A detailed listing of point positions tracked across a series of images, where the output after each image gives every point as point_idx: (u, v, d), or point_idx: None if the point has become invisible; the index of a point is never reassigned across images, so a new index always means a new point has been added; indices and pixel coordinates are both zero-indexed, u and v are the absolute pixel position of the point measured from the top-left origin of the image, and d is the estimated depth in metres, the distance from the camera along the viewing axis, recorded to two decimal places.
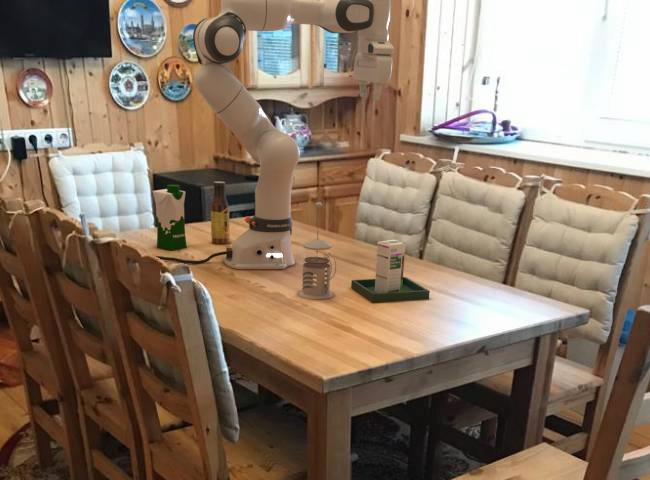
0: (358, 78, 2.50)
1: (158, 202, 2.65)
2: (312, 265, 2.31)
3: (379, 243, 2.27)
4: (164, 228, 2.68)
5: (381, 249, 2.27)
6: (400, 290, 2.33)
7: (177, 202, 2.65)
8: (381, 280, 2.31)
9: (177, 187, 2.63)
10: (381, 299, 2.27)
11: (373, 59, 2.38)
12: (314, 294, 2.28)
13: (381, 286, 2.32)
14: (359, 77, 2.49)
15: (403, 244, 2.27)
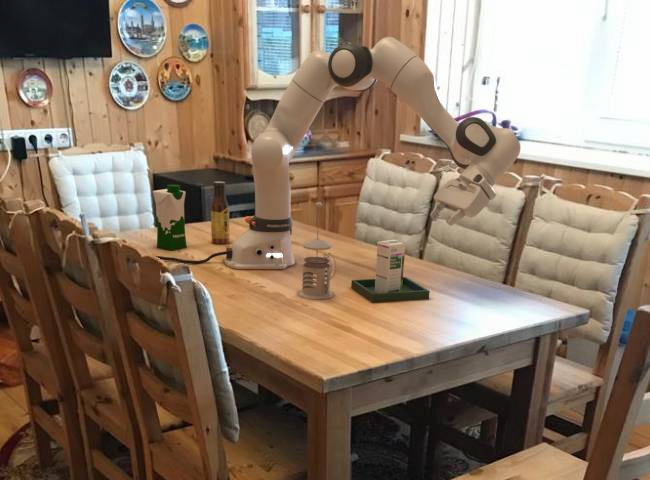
0: (440, 198, 2.32)
1: (158, 202, 2.65)
2: (312, 265, 2.31)
3: (379, 243, 2.27)
4: (164, 228, 2.68)
5: (381, 249, 2.27)
6: (400, 290, 2.33)
7: (177, 202, 2.65)
8: (381, 280, 2.31)
9: (177, 187, 2.63)
10: (381, 299, 2.27)
11: (473, 188, 2.22)
12: (314, 294, 2.28)
13: (381, 286, 2.32)
14: (442, 197, 2.32)
15: (403, 244, 2.27)
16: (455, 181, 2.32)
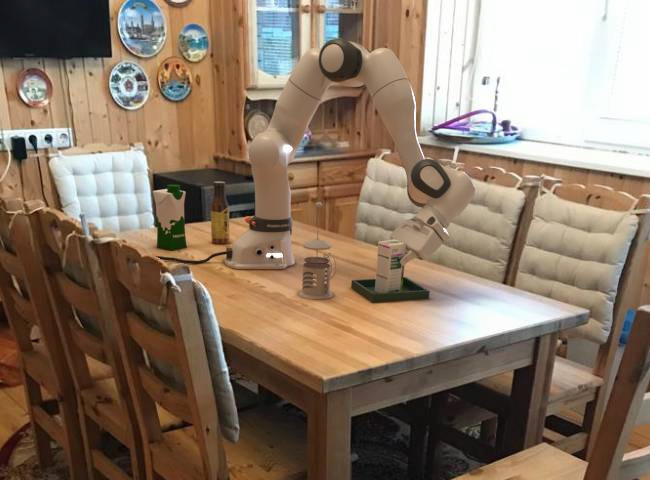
0: (395, 238, 2.33)
1: (158, 202, 2.65)
2: (312, 265, 2.31)
3: (380, 243, 2.27)
4: (164, 228, 2.68)
5: (382, 249, 2.27)
6: (400, 290, 2.33)
7: (177, 202, 2.65)
8: (381, 279, 2.31)
9: (177, 187, 2.63)
10: (381, 299, 2.27)
11: (426, 231, 2.23)
12: (314, 294, 2.28)
13: (381, 286, 2.31)
14: (397, 237, 2.33)
15: (404, 244, 2.26)
16: (411, 221, 2.32)
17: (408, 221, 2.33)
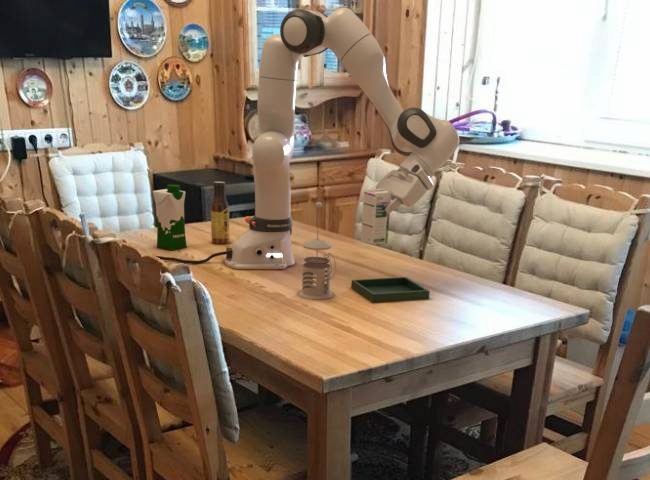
0: (381, 188, 2.37)
1: (158, 202, 2.65)
2: (312, 265, 2.31)
3: (365, 191, 2.31)
4: (164, 228, 2.68)
5: (367, 198, 2.31)
6: (386, 239, 2.36)
7: (177, 202, 2.65)
8: (367, 228, 2.34)
9: (177, 187, 2.63)
10: (381, 299, 2.27)
11: (411, 178, 2.27)
12: (314, 294, 2.28)
13: (367, 235, 2.35)
14: (383, 187, 2.36)
15: (389, 193, 2.30)
16: (396, 171, 2.36)
17: (394, 171, 2.37)
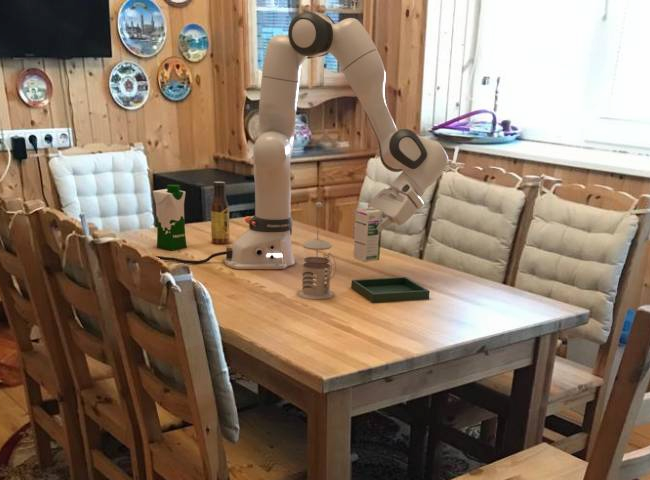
0: (373, 206, 2.44)
1: (158, 202, 2.65)
2: (312, 265, 2.31)
3: (357, 210, 2.38)
4: (164, 228, 2.68)
5: (359, 216, 2.38)
6: (378, 256, 2.44)
7: (177, 202, 2.65)
8: (359, 246, 2.42)
9: (177, 187, 2.63)
10: (381, 299, 2.27)
11: (401, 198, 2.34)
12: (314, 294, 2.28)
13: (359, 252, 2.42)
14: (374, 205, 2.43)
15: (380, 211, 2.37)
16: (387, 190, 2.43)
17: (385, 190, 2.44)
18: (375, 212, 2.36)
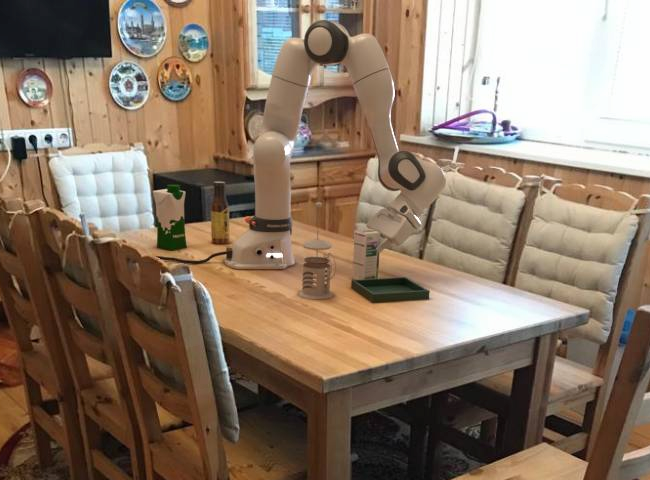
0: (371, 226, 2.47)
1: (158, 202, 2.65)
2: (312, 265, 2.31)
3: (356, 232, 2.41)
4: (164, 228, 2.68)
5: (358, 238, 2.41)
6: (376, 276, 2.47)
7: (177, 202, 2.65)
8: (358, 267, 2.45)
9: (177, 187, 2.63)
10: (381, 299, 2.27)
11: (399, 219, 2.37)
12: (314, 294, 2.28)
13: (358, 273, 2.45)
14: (373, 225, 2.46)
15: (378, 233, 2.41)
16: (386, 210, 2.46)
17: (383, 210, 2.47)
18: (373, 233, 2.40)
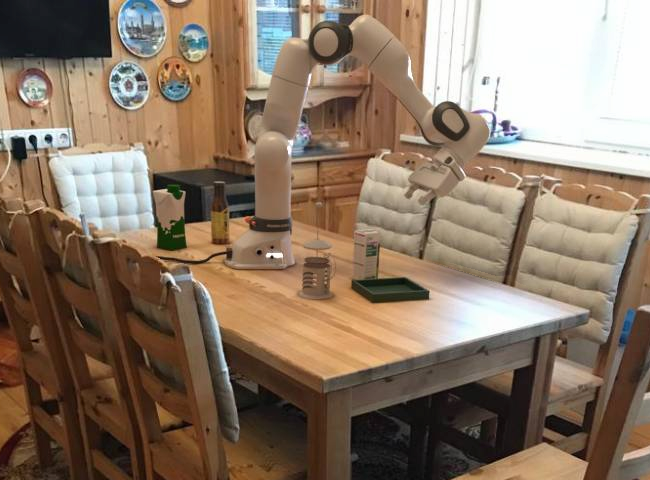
0: (413, 179, 2.45)
1: (158, 202, 2.65)
2: (312, 265, 2.31)
3: (356, 232, 2.41)
4: (164, 228, 2.68)
5: (358, 238, 2.41)
6: (376, 276, 2.47)
7: (177, 202, 2.65)
8: (358, 267, 2.45)
9: (177, 187, 2.63)
10: (381, 299, 2.27)
11: (444, 170, 2.35)
12: (314, 294, 2.28)
13: (358, 273, 2.45)
14: (415, 178, 2.44)
15: (378, 233, 2.41)
16: (428, 163, 2.44)
17: (426, 163, 2.45)
18: (373, 233, 2.40)
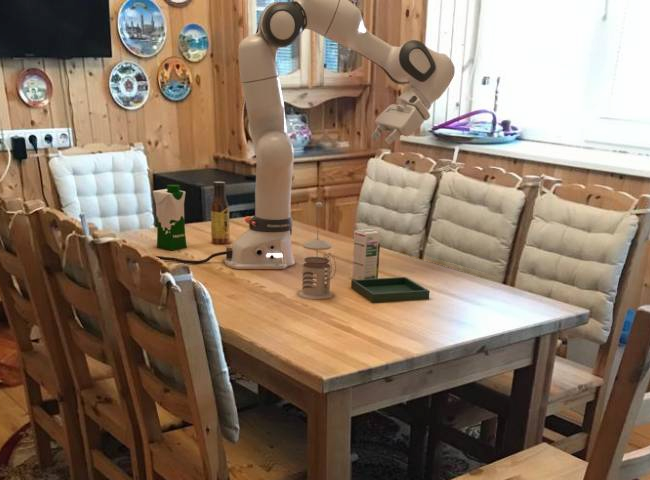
0: (380, 121, 2.47)
1: (158, 202, 2.65)
2: (312, 265, 2.31)
3: (356, 232, 2.41)
4: (164, 228, 2.68)
5: (358, 238, 2.41)
6: (376, 276, 2.47)
7: (177, 202, 2.65)
8: (358, 267, 2.45)
9: (177, 187, 2.63)
10: (381, 299, 2.27)
11: (409, 109, 2.37)
12: (314, 294, 2.28)
13: (358, 273, 2.45)
14: (382, 120, 2.46)
15: (378, 233, 2.41)
16: (394, 105, 2.46)
17: (392, 105, 2.47)
18: (373, 233, 2.40)
